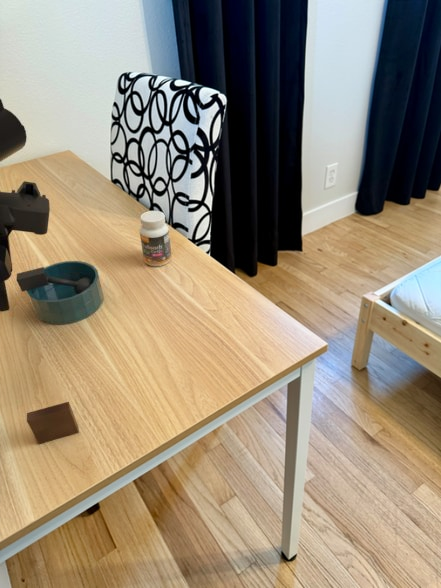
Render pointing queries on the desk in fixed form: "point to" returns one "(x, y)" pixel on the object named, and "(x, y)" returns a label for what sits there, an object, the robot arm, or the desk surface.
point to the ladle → (48, 281)
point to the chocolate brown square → (52, 422)
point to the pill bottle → (155, 238)
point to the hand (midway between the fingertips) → (7, 290)
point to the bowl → (67, 294)
